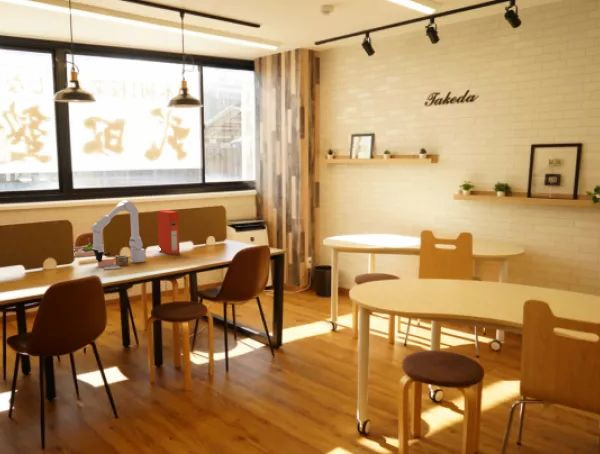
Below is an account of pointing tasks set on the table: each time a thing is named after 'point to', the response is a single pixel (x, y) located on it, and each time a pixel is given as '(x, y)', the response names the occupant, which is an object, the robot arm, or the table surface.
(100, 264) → the pink eraser brick
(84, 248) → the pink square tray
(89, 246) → the plant
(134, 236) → the robot arm
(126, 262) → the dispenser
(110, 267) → the pad
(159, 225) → the file binder
